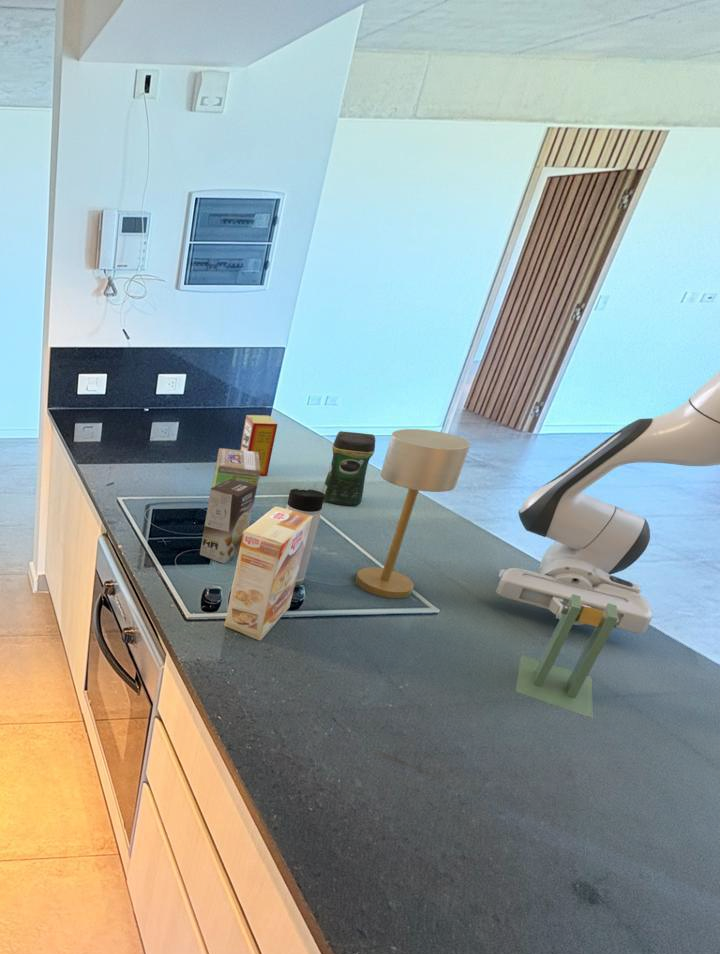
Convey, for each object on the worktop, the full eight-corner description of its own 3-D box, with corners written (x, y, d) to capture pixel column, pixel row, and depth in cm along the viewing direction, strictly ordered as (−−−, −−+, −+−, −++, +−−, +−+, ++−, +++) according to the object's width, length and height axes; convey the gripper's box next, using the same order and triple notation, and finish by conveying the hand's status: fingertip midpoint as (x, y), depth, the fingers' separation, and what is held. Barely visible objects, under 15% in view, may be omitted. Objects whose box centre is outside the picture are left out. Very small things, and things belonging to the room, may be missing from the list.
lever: (556, 619, 101) (565, 599, 100) (585, 627, 99) (594, 606, 98) (570, 623, 90) (579, 600, 90) (602, 632, 88) (612, 609, 88)
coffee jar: (359, 498, 166) (378, 431, 158) (360, 508, 160) (380, 439, 151) (320, 492, 170) (336, 426, 161) (319, 502, 163) (336, 435, 155)
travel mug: (274, 586, 125) (295, 495, 116) (267, 570, 131) (287, 483, 122) (307, 589, 124) (330, 497, 115) (298, 572, 130) (320, 484, 121)
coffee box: (225, 565, 133) (238, 496, 126) (198, 555, 137) (209, 488, 130) (245, 551, 139) (258, 484, 132) (218, 542, 143) (230, 477, 136)
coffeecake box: (260, 642, 108) (283, 543, 99) (222, 626, 112) (240, 530, 104) (291, 607, 118) (314, 515, 109) (255, 594, 122) (274, 504, 113)
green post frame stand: (517, 660, 103) (555, 579, 96) (588, 683, 98) (633, 599, 91) (512, 698, 95) (553, 612, 88) (589, 724, 90) (639, 636, 83)
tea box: (250, 526, 150) (261, 469, 144) (207, 521, 153) (216, 465, 146) (249, 503, 163) (259, 450, 156) (209, 499, 166) (218, 446, 159)
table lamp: (389, 569, 131) (434, 427, 117) (431, 598, 121) (487, 447, 107) (337, 573, 130) (377, 430, 116) (376, 603, 119) (425, 450, 105)
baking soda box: (237, 464, 190) (246, 413, 183) (259, 465, 190) (269, 414, 182) (244, 475, 182) (253, 422, 175) (266, 476, 181) (277, 423, 174)
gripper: (506, 553, 117) (499, 581, 108) (653, 588, 106) (660, 624, 96) (494, 581, 120) (487, 611, 111) (636, 619, 108) (642, 656, 99)
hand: (569, 617), depth 103 cm, fingers closed
